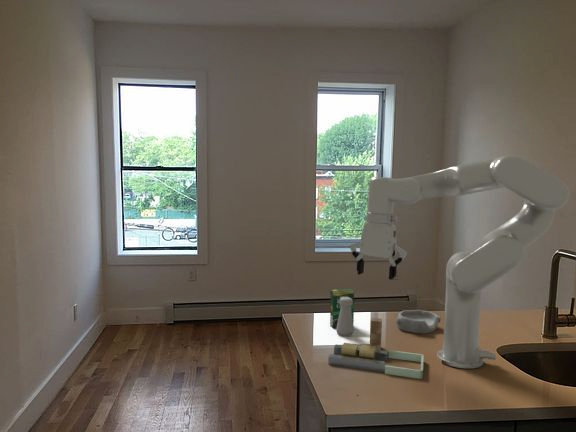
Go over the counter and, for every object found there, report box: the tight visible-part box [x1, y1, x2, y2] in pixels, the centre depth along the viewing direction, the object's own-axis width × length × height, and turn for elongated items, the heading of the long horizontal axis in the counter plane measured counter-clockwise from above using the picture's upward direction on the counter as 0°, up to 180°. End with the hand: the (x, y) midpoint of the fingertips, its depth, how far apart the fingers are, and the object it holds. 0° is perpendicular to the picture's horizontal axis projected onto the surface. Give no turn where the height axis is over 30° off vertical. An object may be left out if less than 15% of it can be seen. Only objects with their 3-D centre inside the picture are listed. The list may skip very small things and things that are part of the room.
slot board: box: [327, 344, 388, 373], centre depth 132 cm, size 15×10×3 cm, turn 73°
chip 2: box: [359, 344, 376, 360], centre depth 131 cm, size 4×4×4 cm
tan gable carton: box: [369, 317, 383, 350], centre depth 141 cm, size 3×4×10 cm
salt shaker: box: [335, 297, 355, 337], centre depth 154 cm, size 6×6×13 cm
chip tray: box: [384, 349, 425, 380], centre depth 128 cm, size 10×12×3 cm
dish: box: [395, 309, 442, 334], centre depth 165 cm, size 14×14×5 cm
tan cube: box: [341, 342, 359, 358], centre depth 133 cm, size 4×4×4 cm
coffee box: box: [329, 288, 355, 329], centre depth 164 cm, size 8×3×13 cm, turn 103°
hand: (375, 276), depth 140 cm, fingers open, 9 cm apart
